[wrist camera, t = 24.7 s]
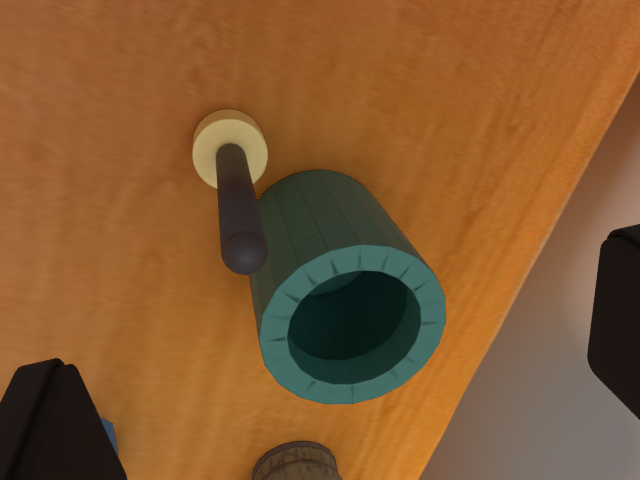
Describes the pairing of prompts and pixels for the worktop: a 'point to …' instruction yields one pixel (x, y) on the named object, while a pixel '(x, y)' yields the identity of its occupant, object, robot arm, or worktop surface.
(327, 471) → the thermos
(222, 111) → the joystick
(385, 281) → the teal hollow cylinder
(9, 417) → the robot arm
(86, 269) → the worktop surface
